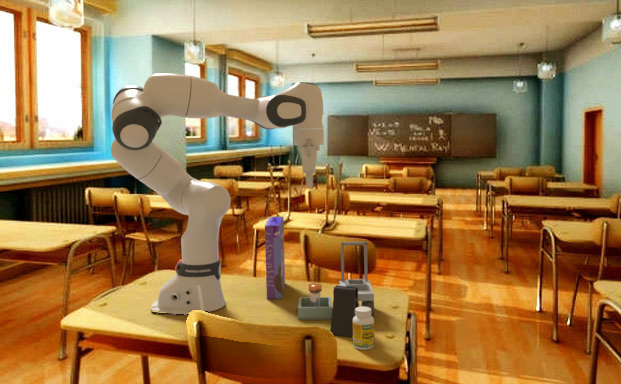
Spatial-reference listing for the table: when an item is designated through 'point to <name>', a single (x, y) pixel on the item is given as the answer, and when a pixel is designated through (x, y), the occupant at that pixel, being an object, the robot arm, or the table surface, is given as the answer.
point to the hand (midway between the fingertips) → (309, 186)
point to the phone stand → (344, 310)
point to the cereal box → (275, 257)
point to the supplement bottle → (363, 329)
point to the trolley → (359, 280)
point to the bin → (314, 309)
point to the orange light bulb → (315, 294)
